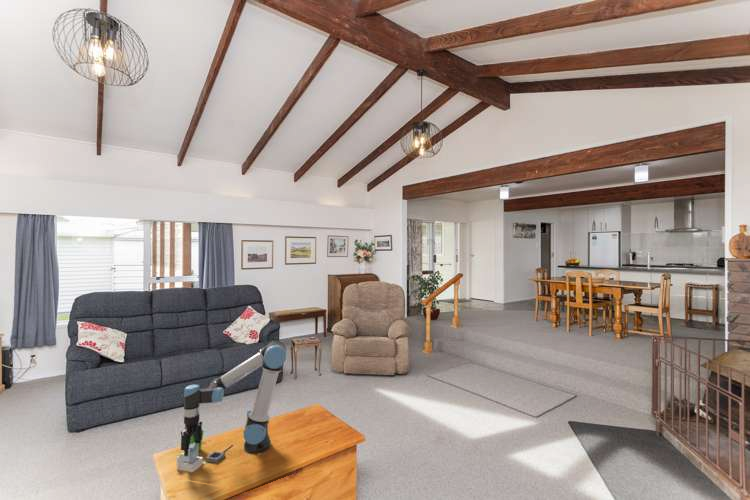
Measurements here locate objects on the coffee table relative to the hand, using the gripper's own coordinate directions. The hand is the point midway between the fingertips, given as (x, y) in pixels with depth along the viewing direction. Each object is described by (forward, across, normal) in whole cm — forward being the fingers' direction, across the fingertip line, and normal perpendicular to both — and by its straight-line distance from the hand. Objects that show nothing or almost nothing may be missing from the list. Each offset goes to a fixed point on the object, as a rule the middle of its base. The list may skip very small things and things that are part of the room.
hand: (191, 458), depth 204 cm
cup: (+5, -14, -9) cm, 17 cm away
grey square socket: (+5, -9, +8) cm, 13 cm away
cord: (+5, -18, +8) cm, 21 cm away
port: (+5, 0, 0) cm, 5 cm away
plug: (+4, 0, 0) cm, 4 cm away
